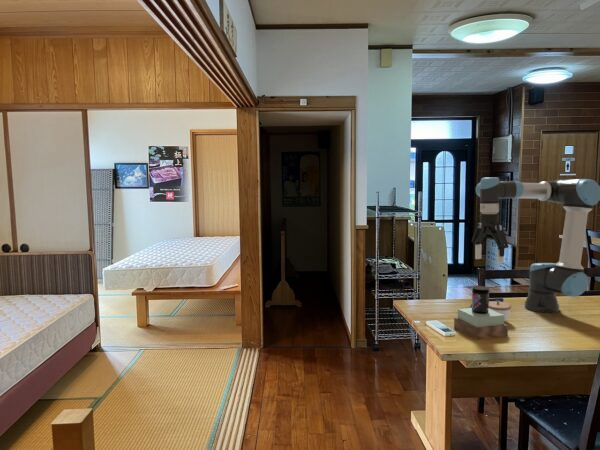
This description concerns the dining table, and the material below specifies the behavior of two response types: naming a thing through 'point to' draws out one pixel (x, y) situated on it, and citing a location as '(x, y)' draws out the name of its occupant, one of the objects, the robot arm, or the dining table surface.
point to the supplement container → (480, 299)
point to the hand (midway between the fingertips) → (488, 261)
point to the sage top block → (481, 317)
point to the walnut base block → (480, 329)
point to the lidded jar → (500, 308)
